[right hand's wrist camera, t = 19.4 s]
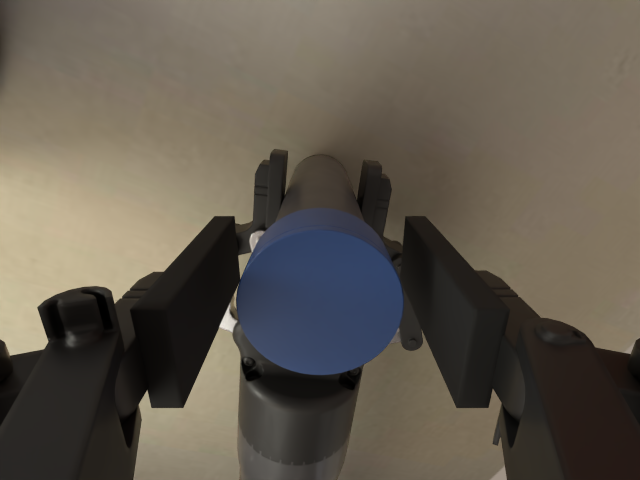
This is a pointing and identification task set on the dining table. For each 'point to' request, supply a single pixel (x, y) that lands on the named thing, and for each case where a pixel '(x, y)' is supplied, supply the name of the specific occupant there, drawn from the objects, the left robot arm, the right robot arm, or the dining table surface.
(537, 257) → the dining table surface
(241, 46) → the dining table surface
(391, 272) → the lid
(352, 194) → the grey cylinder
